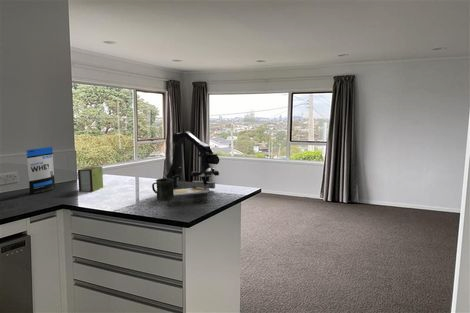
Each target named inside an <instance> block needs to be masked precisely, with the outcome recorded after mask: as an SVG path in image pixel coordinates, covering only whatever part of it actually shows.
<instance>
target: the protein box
mask: <svg viewBox="0 0 470 313" xmlns="http://www.w3.org/2000/svg"><path fill="white" fill-rule="evenodd" d="M103 177H104V175H103V166H90V165H89V166H86V167H82V168H79V169H77V179H78V182H77V183H78V192H80V193H81V192H82V193H83V192H86V193H89V192H90V193H92V192H93V193H94V192H95V191H98V190H100V189H102V188H104V181H103V180H104V178H103Z"/></svg>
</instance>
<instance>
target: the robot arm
mask: <svg viewBox="0 0 470 313" xmlns="http://www.w3.org/2000/svg"><path fill="white" fill-rule="evenodd" d="M185 139H186V140H188V141H189V142H190V143H191V144H193V145H194V146H195V147H196V148H197V152H199V154H198V155H197V156H198V157H199V158H200V165H199V166H200V171H197V170H196V171H195V170H194V171H191V172H190V176H191V177H198V176H199V178H200V179H201V181H203V184H204V186H206V183H207V182H208V180H209V179H210V178H211V176H212V175H213V176H220V172H219V170H215V168H214V167H211V166H210V165H216V166H217V165H218V164H220V158H219V156H218V153H217V154H216V153H214V152H213V151H212V149H211V146H210V145H209V144H207V143H205V142H202V141H201V140H200V139H199V138H197V137H196V136H195V135H193V133H191V131H184V132H175V133H173V134H172V142H173V143H172V144H173V156H172V164H171V166H170V167H169V170H168V172H167V174H166V178H170V179H174V181H173V188H175V187H176V188H177V187H179V185H178V178H180V176H181V174H182V169H183V167H181V165H180V162H181V161H180V160H181V151H182V150H181V149H182V145H183V144H184V142H185Z"/></svg>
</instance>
